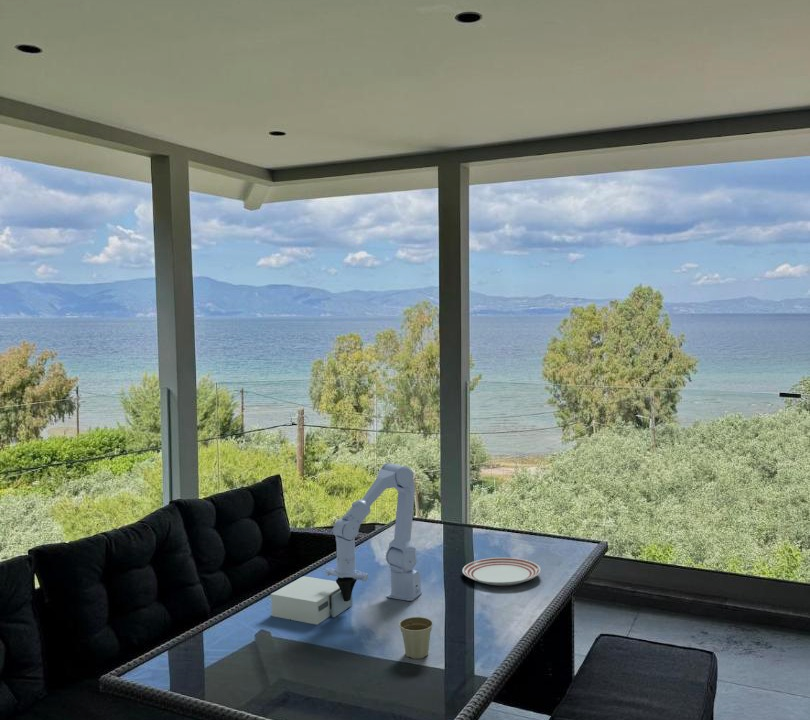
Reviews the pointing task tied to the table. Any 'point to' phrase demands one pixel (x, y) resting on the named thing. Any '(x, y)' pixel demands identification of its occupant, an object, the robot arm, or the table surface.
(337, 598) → the sliding drawer
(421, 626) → the flower pot
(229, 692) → the table surface
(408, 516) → the robot arm
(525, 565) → the dinner plate
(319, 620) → the player box
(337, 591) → the oak block
